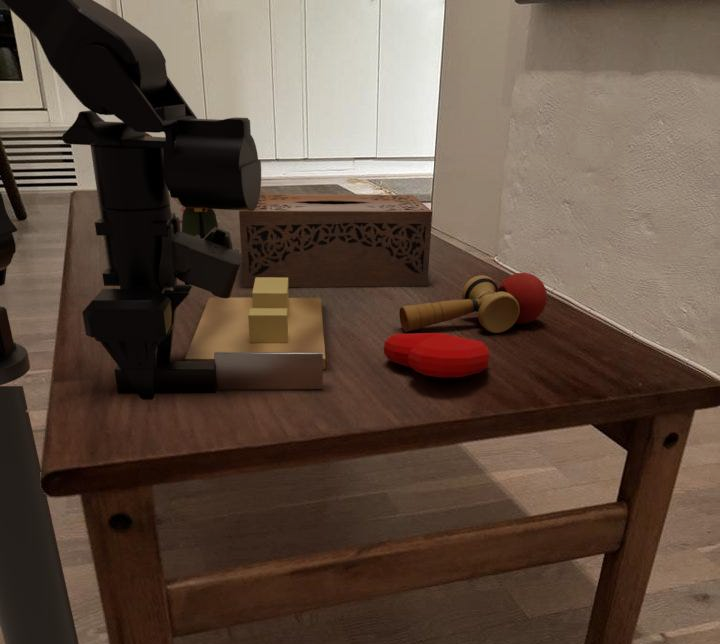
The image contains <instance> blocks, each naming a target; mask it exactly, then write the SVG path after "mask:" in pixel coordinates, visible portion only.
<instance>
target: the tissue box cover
mask: <svg viewBox="0 0 720 644" xmlns="http://www.w3.org/2000/svg"><path fill="white" fill-rule="evenodd" d="M238 217H239V237H240V254H241V255H242V260H241V271H242V272H241V273H242V288H244V289H246V288H247V289H249V288H251V289H253V287H254V282H255V278H256V277H277V278H288V283H289V288H330V287H331V288H342V287H343V288H346V287H347V288H350V287H351V288H353V287H354V288H355V287H356V288H357V287H361V288H362V287H428V285H429V284H428V283H429V269H430V255H431V254H430V253H431V239H432V237H431V236H432V225H433V211H432V210H431V209H430V208H429V207H428V206H426V204H424V203H423V202H422V201H421V200H419V198H418V197H416V196H414V195H413V194H357V193H356V194H355V193H353V194H351V193H350V194H349V193H348V194H346V193H345V194H344V193H343V194H338V193H337V194H333V193H331V194H328V193H327V194H326V193H318V194H317V193H316V194H315V193H260V196H259V201H258V204H257V207H256V208H255V210H254V211H242V210H238Z"/></svg>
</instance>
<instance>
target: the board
mask: <svg viewBox="0 0 720 644" xmlns="http://www.w3.org/2000/svg"><path fill="white" fill-rule="evenodd" d="M322 306H323V305H322V298H321V297H289V309H288V343H250V337H249V318H248V315H249V310H250V308H253V302H252V297H230V298H220V297H217V296H215V297H214V296H213V297H211V296H210V297H208V299H207V302H206V305H205V307H204V310H203V312H202V315H201V317H200V320H199V322H198V324H197V327H196V330H195V333H194V335H193V337H192V340H191V343H190V345H189V347H188V350H187V352H186V355H185V357H184V361H215V358H214V353H215V352H323V371H325V370H326V369H327V367H326V365H327V364H326V362H327V358H326V346H325V333H324V320H323V307H322Z"/></svg>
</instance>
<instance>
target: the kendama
mask: <svg viewBox="0 0 720 644" xmlns="http://www.w3.org/2000/svg"><path fill="white" fill-rule="evenodd" d="M547 301H548V293H547V289H546V285H545V284H544V283H543V281H541V279H540V278H539V277H537V276H535V275H534V274H531V273H528V272H517V273H514V274H511V275H508V277H506V278H505V279H504V280H503V281H501V283H500V285H499V286H498V285H497V283H496V281H495V280H494V279H492V278H491V277H490V276H488V275H476V276H473V277H472V278H470V279H469V280H468V281H467V282H466V283H465V285H464V286H463V288H462V292H461V299H451V300H450V299H449V300H441V301H436V302H428V303H419V304H409V305H402V306H400V307H399V313H398V315H399V321H400V326H401V328H402V330H403V332H405V333H410V332H412V331H416V330H418V329H422V328H426V327H429V326H432V325H437V324H440V323H444V322H448V321H452V320H454V319H458V318H461V317H463V316H466V315H469V314H472V313H474V312H476V313H477V318H478V322H479V324H480V325H481V326H482V327H483V328H484V330H486V331H487V332H489V333H491V334H501V333H505V332H507V331H508V330H510V329H511V328H512V327H513V326H514V325H515V324H517V325H525V324H528V323H531V322H533V321H535V320H537V319H538V318H539V317H540V316H541V315H542V313H543V311H544V310H545V308H546V305H547Z"/></svg>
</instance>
